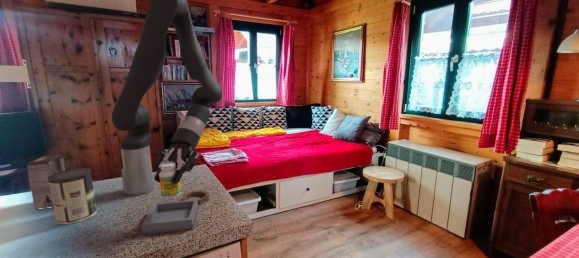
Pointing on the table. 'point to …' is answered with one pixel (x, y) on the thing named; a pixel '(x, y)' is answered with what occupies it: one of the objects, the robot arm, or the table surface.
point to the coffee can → (72, 195)
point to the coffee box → (43, 178)
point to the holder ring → (197, 193)
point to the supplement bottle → (168, 181)
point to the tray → (170, 217)
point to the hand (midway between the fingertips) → (165, 182)
